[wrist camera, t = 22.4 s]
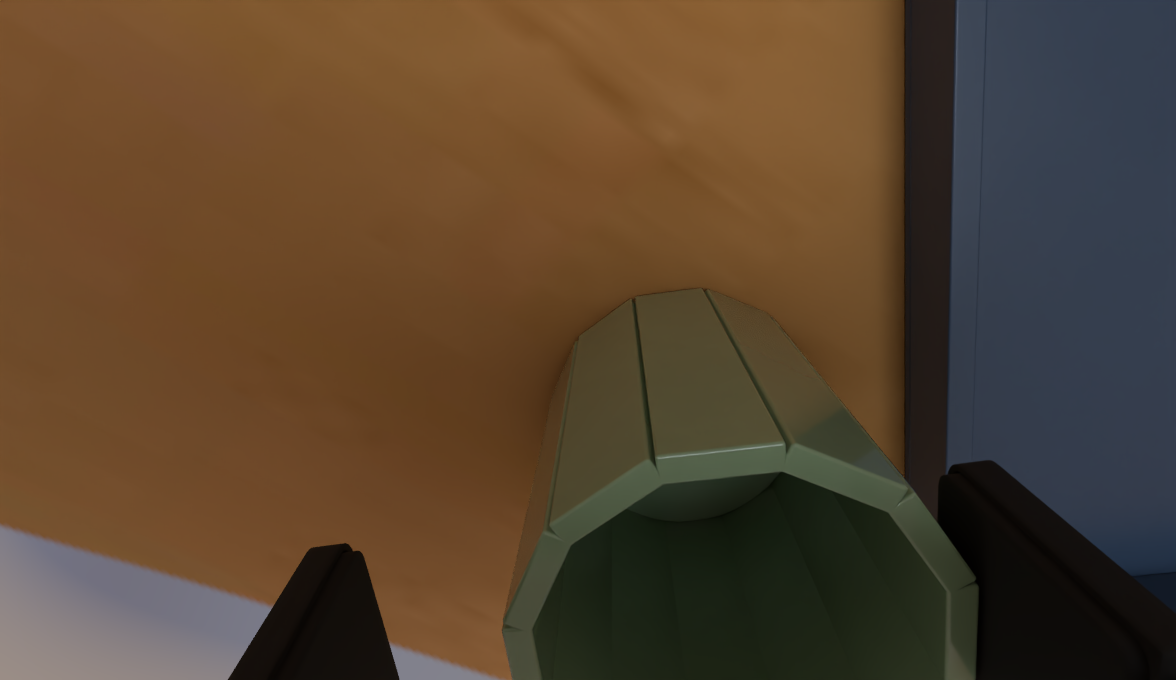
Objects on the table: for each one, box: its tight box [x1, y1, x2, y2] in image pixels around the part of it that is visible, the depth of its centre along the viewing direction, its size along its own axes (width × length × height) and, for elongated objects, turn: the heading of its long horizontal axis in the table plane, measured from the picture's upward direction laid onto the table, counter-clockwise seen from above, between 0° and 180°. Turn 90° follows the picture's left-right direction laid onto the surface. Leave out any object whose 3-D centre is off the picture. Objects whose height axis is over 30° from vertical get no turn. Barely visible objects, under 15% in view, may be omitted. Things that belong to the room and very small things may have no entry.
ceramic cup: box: [502, 288, 979, 680], centre depth 14 cm, size 7×7×8 cm
